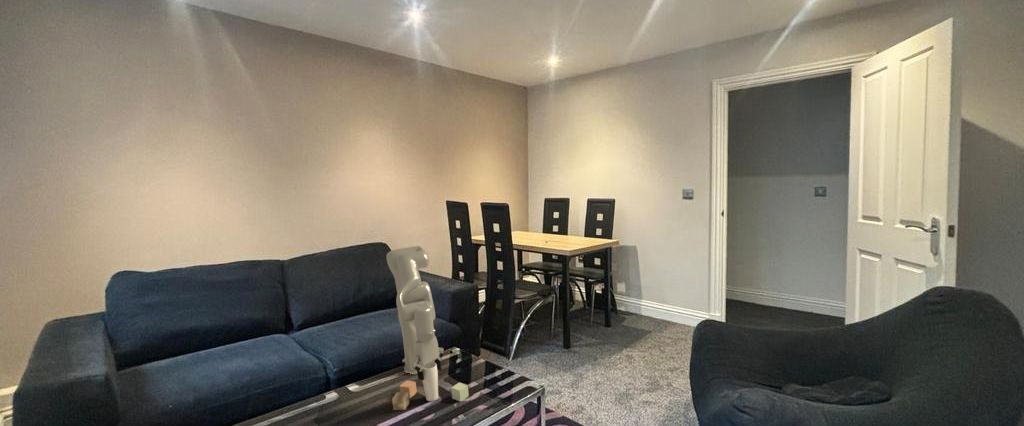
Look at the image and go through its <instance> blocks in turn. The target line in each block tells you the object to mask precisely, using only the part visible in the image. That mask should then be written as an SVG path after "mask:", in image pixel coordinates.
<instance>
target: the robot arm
mask: <svg viewBox="0 0 1024 426" xmlns="http://www.w3.org/2000/svg"><path fill="white" fill-rule="evenodd" d="M427 253H428V252H427V251H426V250H425V249H424V248H422V247H421V246H419V245H415V246H409V247H402V248H397V249H392V250H390V251H389V252H387V253H386V262H387V265H388V269H389V270H390V271H391V273H392V275H393V277H394V283H395V287H396V293H397V294H396V299H395V300H396V308H397V313H398V314H397V316H398V321H399V324H400V328H401V334H402V341H403V349H404V350H403V351H404V358H403V359H402V360H401V361H402V363H404V367H403V368H404V369H405V372H407V373H410V374H409V375H411V374H412V375H417V379H418V380H421V381H423V380H424V373H423V371H422V369H423V367H424V365H426V364H428V363H430V362H434V363H436V364H437V371H442V363H441V361H442V357H443V356H444V354H443V353H444V348H443V347H439V343H438V342H439V341H438V339H437V336H436V335H435V332H436V329H435V328H434V321H435V319H436V311H435V305H434V299H433V295H432V291H431V290H432V289H431V287H430V285H429V283H428V282H427V281H425V280H424V281H422V279H421V276H420V272H419V270H420V269H426V268H427V267H428V266H429V264H430V261H429V260H430V259H429V256H428V254H427Z"/></svg>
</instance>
